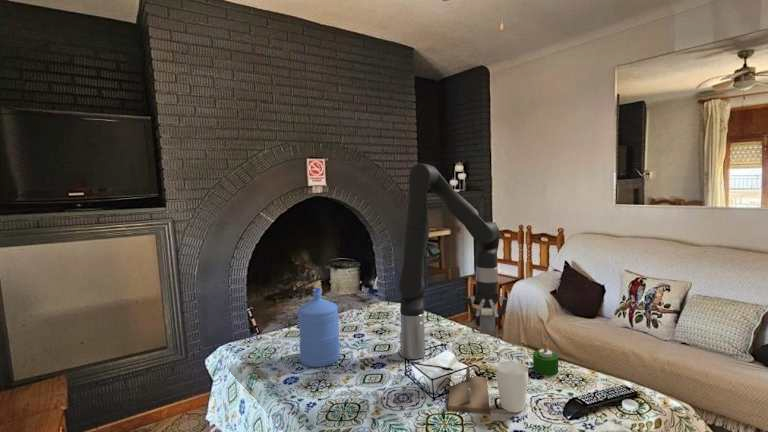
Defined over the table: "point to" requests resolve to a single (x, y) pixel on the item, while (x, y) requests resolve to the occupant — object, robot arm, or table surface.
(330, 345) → the water jug
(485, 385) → the tray
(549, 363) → the candle
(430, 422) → the table surface
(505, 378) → the cup
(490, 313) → the block
